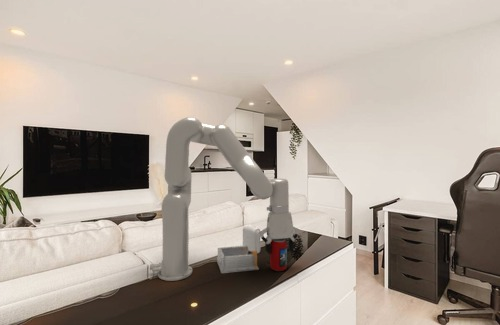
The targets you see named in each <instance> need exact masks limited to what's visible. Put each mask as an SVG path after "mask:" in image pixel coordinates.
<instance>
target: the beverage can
mask: <svg viewBox="0 0 500 325" xmlns="http://www.w3.org/2000/svg"><path fill="white" fill-rule="evenodd" d="M270 245H271V254H269V267H270V269H271V270H274V271H276V272H283V271H284V270H286V269H287V266H288V249H287V242H286V240H285V239H272V240H271V241H270Z"/></svg>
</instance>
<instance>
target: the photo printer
mask: <svg viewBox="0 0 500 325" xmlns="http://www.w3.org/2000/svg"><path fill="white" fill-rule="evenodd" d="M260 231H261V230H260V228H259V227H258V226H256V225H254V224H245V225H244V226H243V227H242V246H248V252H250V253H252V250H257V254H260V252H261V237H260V235H259V232H260Z"/></svg>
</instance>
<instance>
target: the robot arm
mask: <svg viewBox="0 0 500 325" xmlns="http://www.w3.org/2000/svg"><path fill="white" fill-rule="evenodd" d="M191 142H192V143H196V144H201V145H206V146H209V147H210V146H211V147H215V148H217V149H218V150H219V152H220V153H221V155H222V156H223V157H224V159H225V160H226V162H227V163H228V164H229V165H230V167H231V169H233V171H235V172H236V173H237V174H238V175H239V177H241V178H242V180H243V181H244V182H245V183H246V185H247V186H248V187H249V189H250V192H251V193H252V194H253V196H255V198H257V199H259V200H268V199H269V206H266V211H267V212H268V214H267V219H266V227H265V228H263V229H262V230H260V232H259V235H260V240H262V241H263V242H264V244H265V245H264V246H265V252H266V253H267V254H268V255H270V254H271V245H270V242H271V240H272V239H285V238H289V240H288V244H289V249H288V250H289V251H290V252H294V249H295V242H296V239H297V238H298V237H299V234H300V231H301V229H299V228H298V227H295V226H294V223H293V217H292V212H290V209H289V208H290V207H289V202H290V200H289V198H290V197H289V196H290V194H289V181H288V179H287V178H272V179H269V178H268V176H266V174H265V173H264V172H263V170H262V169H261V167H260V166H259V164H257V163H256V161H255V160H254V159H253V157H252V156H251V154H249V152H248V151H247V150H246V148H245V147H244V145H243V144H242V143H241V141H240V140H239V139H238V137H237V136H236V134H235V133H234V132H233V131H232V129H231V128H230V126H227V125H226V124H218V125H210V124H205V123H202V122H201V121H200V120H199V119H197V118H196V117H194V116H188V117H184V118H182V119H179V120H178V121H177V122H175V123H174V124H173V125H172V126H171V128H170V129H169V131H168V134H167V137H166V144H165V164H164V180H165V182H166V184H167V194H166V195H165V196H164V197H163V200H162V203H161V219H162V220H161V221H162V259H161V262H159V263H154V264H153V263H152V264H151V263H150V264H149V270H150V271H151V270H152V272H154V273H155V272H157V277H158V278H159V279H161V280H163V281H166V282H173V281H180V280H184V279H187V278H189V277H190V276H191V275H192V274H193V268H192V266H190V265H189V242H190V241H189V240H190V239H189V236H190V235H189V228H190V227H189V207H190V205H191V201H192V177H193V176H192V169H191V168H190V167H189V164H190V163H189V157H190V156H189V155H190V143H191ZM265 234H266V236H265Z"/></svg>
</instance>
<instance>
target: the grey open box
mask: <svg viewBox="0 0 500 325" xmlns="http://www.w3.org/2000/svg"><path fill="white" fill-rule="evenodd" d="M216 262H217V263H216V264H217V265H218V268H219V271H220V274H229V273H240V272H249V271H258V270H259V269H260V268H259V266H258V253H257V250H252V252H251V253H249V251H248V246H243V245H238V246H237V245H236V246H234V245H233V246H224V247H217V258H216Z"/></svg>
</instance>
